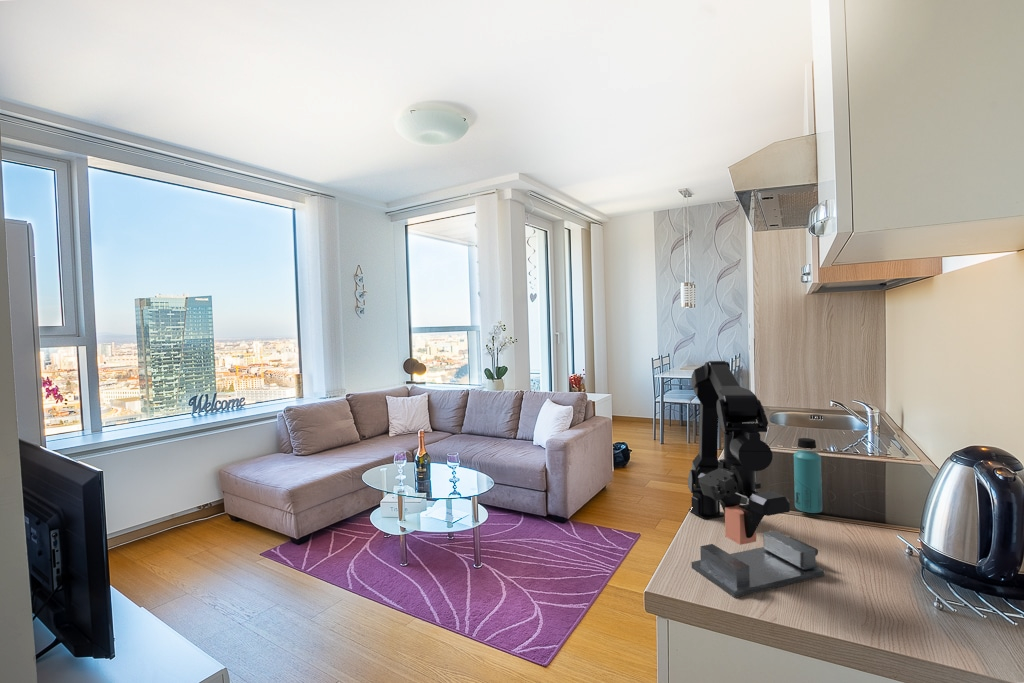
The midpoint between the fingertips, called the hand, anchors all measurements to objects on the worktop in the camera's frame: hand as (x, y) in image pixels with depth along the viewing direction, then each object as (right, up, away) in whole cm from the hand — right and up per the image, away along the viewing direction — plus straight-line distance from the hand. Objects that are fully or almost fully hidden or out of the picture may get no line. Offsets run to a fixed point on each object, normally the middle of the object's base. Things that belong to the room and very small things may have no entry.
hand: (740, 533), depth 96 cm
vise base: (+4, -8, +1) cm, 9 cm away
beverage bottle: (+32, -7, +30) cm, 44 cm away
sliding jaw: (+13, -7, +4) cm, 15 cm away
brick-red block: (0, -1, 0) cm, 1 cm away
